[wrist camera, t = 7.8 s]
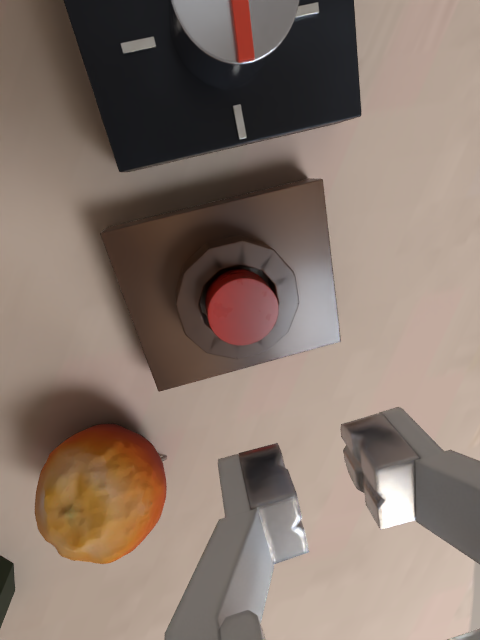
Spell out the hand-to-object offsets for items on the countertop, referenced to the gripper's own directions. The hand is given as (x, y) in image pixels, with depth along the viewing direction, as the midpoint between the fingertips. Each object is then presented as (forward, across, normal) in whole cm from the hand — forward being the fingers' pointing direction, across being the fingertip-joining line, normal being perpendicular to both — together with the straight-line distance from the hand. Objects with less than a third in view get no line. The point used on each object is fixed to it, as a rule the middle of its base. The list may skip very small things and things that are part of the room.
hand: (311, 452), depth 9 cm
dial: (+12, -2, -12) cm, 17 cm away
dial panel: (+15, -2, -12) cm, 19 cm away
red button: (+11, 0, 0) cm, 11 cm away
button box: (+15, 0, 0) cm, 15 cm away
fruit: (+15, +11, +10) cm, 21 cm away
